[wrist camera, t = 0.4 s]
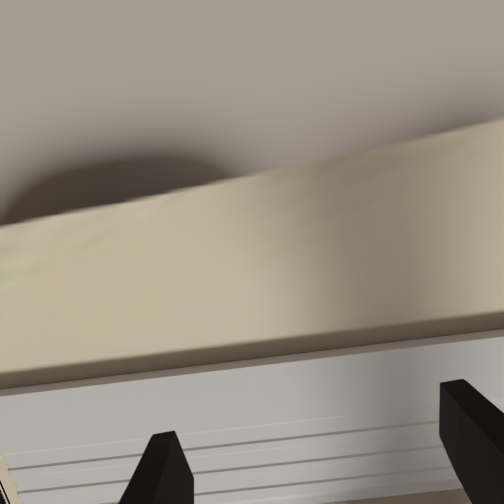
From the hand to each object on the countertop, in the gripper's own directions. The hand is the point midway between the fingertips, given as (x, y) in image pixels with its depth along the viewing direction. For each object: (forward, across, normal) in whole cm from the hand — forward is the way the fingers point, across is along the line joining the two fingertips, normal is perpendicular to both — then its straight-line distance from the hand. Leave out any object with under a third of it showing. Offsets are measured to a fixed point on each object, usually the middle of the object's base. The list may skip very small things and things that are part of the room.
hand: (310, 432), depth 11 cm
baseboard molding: (+10, +2, +11) cm, 15 cm away
